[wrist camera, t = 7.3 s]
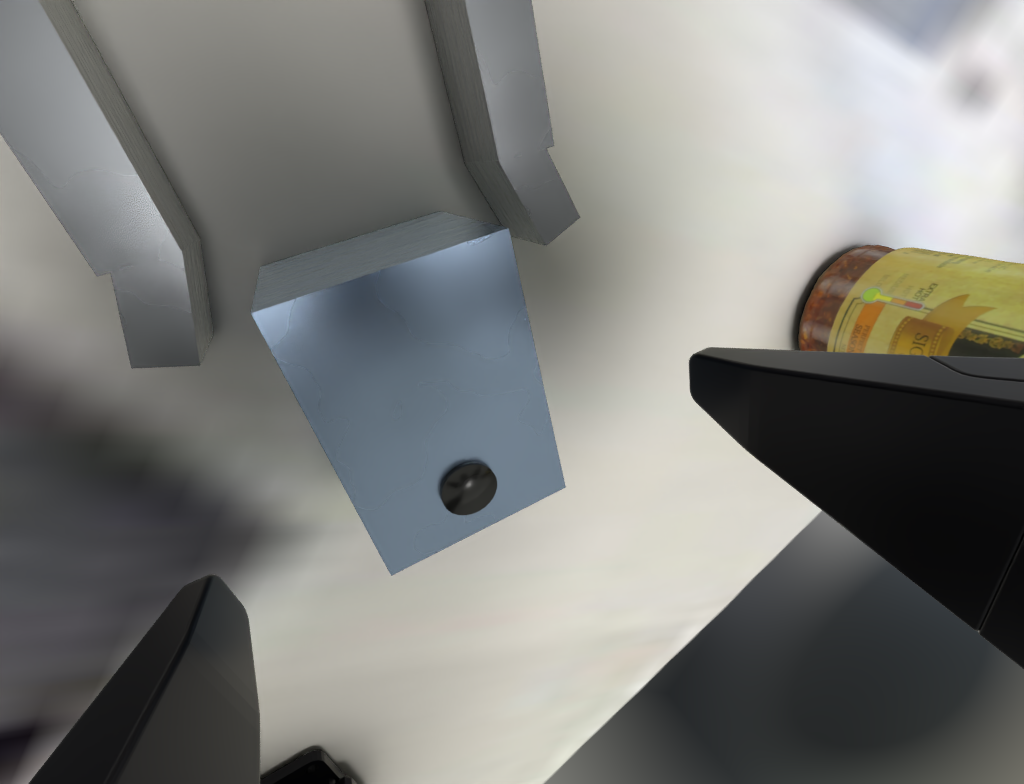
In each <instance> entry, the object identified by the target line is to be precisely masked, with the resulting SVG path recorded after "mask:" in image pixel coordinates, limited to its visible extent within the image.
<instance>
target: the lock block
mask: <svg viewBox="0 0 1024 784" xmlns="http://www.w3.org/2000/svg"><path fill="white" fill-rule="evenodd" d="M251 315H252V317H253V319H254V320H255V322H256V324H257V326H258V328H259V330H260V332H261V334H262V335H263V337H264V339H265V341H266V343H267V345H268V347H269V348H270V350H271V352H272V354H273V356H274V358H275V360H276V361H277V363H278V365H279V367H280V369H281V371H282V373H283V375H284V376H285V378H286V380H287V382H288V384H289V386H290V388H291V389H292V391H293V393H294V395H295V397H296V399H297V401H298V403H299V404H300V406H301V408H302V410H303V412H304V414H305V416H306V417H307V419H308V421H309V423H310V425H311V427H312V429H313V431H314V432H315V434H316V436H317V438H318V440H319V442H320V444H321V445H322V447H323V449H324V451H325V453H326V455H327V457H328V459H329V460H330V462H331V464H332V466H333V468H334V470H335V472H336V473H337V475H338V477H339V479H340V481H341V483H342V485H343V487H344V488H345V490H346V492H347V494H348V496H349V498H350V500H351V501H352V503H353V505H354V507H355V509H356V511H357V513H358V515H359V516H360V518H361V520H362V522H363V524H364V526H365V528H366V529H367V531H368V533H369V535H370V537H371V539H372V541H373V543H374V544H375V546H376V548H377V550H378V552H379V554H380V556H381V557H382V559H383V561H384V563H385V565H386V567H387V569H388V570H389V572H390V574H391V576H392V575H394V574H396V573H398V572H400V571H401V570H403V569H405V568H407V567H409V566H411V565H413V564H415V563H417V562H419V561H421V560H423V559H425V558H427V557H429V556H431V555H433V554H435V553H437V552H439V551H441V550H443V549H445V548H447V547H449V546H451V545H453V544H455V543H457V542H459V541H461V540H463V539H465V538H467V537H469V536H470V535H472V534H474V533H476V532H478V531H480V530H482V529H484V528H486V527H488V526H490V525H492V524H494V523H496V522H498V521H500V520H502V519H504V518H506V517H508V516H510V515H512V514H514V513H516V512H518V511H520V510H522V509H524V508H526V507H528V506H530V505H532V504H534V503H536V502H537V501H539V500H541V499H543V498H545V497H547V496H549V495H551V494H553V493H555V492H557V491H559V490H561V489H563V488H565V482H564V478H563V473H562V468H561V464H560V459H559V455H558V450H557V446H556V441H555V437H554V432H553V427H552V423H551V418H550V414H549V409H548V405H547V400H546V396H545V391H544V386H543V382H542V377H541V373H540V368H539V364H538V359H537V355H536V350H535V345H534V341H533V336H532V332H531V327H530V323H529V318H528V314H527V309H526V304H525V300H524V295H523V291H522V286H521V282H520V277H519V273H518V268H517V263H516V259H515V254H514V250H513V245H512V241H511V236H510V231H509V228H507V227H503V226H499V225H495V224H491V223H487V222H482V221H478V220H474V219H470V218H466V217H462V216H458V215H454V214H450V213H446V212H442V211H439V212H435V213H432V214H429V215H426V216H422V217H419V218H416V219H413V220H409V221H406V222H403V223H400V224H396V225H393V226H390V227H387V228H383V229H380V230H377V231H374V232H370V233H367V234H364V235H361V236H358V237H354V238H351V239H348V240H345V241H341V242H338V243H335V244H332V245H328V246H325V247H322V248H319V249H315V250H312V251H309V252H306V253H302V254H299V255H296V256H293V257H289V258H286V259H283V260H280V261H276V262H273V263H270V264H267V265H263V266H260V271H259V276H258V281H257V286H256V290H255V295H254V300H253V305H252V310H251Z"/></svg>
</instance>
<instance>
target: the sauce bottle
mask: <svg viewBox="0 0 1024 784" xmlns="http://www.w3.org/2000/svg"><path fill="white" fill-rule="evenodd" d="M799 326H800V328H799V335H798V340H799V344H798V345H799V348H800V351H823V352H849V353H876V354H903V355H925V356H927V357H929V356H958V357H994V358H1024V264H1020V263H1012V262H1005V261H999V260H993V259H987V258H981V257H975V256H968V255H960V254H953V253H945V252H938V251H931V250H926V249H919V248H901V249H897V250H894V249H891V248H888V247H885V246H880V245H875V246H874V245H866V246H863V247H858V248H853V249H852V250H850V251H849V252H847V253H845V254H843V255H842V256H841V257H840V258H838V259H837V260H836V261H835V262H834V263H833V264H831V265H830V266H829V267H828V269H826V270H825V271H824V272H823V274H822V275H821V276H820V277H819V278H818V281H817V282H816V284H815V286H814V289H813V290H812V291H811V294H810V297H809V299H808V300H807V302H806V304H805V308H804V312H803V314H802V318H801V321H800V324H799Z"/></svg>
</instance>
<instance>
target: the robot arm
mask: <svg viewBox="0 0 1024 784" xmlns="http://www.w3.org/2000/svg"><path fill="white" fill-rule="evenodd" d="M689 379H690V393H691V396H692V398H693V399H694V401H695V402H696V403H697V404H698V405H699V406H700V407H701V408H702V409H703V410H704V411H705V412H706V413H708V414H709V415H710V416H711V417H712V418H713V419H714V420H715V421H716V422H717V423H718V424H719V425H720V426H721V427H722V428H723V429H724V430H725V431H726V432H727V433H728V434H729V435H731V436H732V437H733V438H734V439H735V440H736V441H737V442H738V443H739V444H740V445H741V446H742V447H743V448H744V449H746V450H747V451H748V452H749V453H750V454H751V455H753V456H754V457H755V458H756V459H757V460H759V461H760V462H761V463H763V464H764V465H765V466H766V467H768V468H769V469H770V470H771V471H773V472H774V473H775V474H777V475H778V476H779V477H780V478H782V479H783V480H784V481H785V482H787V483H788V484H789V485H791V486H792V487H793V488H794V489H796V490H797V491H798V492H799V493H801V494H802V495H803V496H805V497H806V498H807V499H808V500H810V501H811V502H812V503H813V504H815V505H816V506H817V507H819V508H820V509H821V510H822V511H824V512H825V513H826V514H828V515H829V516H830V517H831V518H833V519H834V520H835V521H837V522H838V523H839V524H840V525H841V526H843V527H844V528H845V529H847V530H848V531H849V532H850V533H852V534H853V535H854V536H855V537H857V538H858V539H859V540H861V541H862V542H863V543H865V544H866V545H867V546H868V547H869V548H871V549H872V550H874V551H875V552H876V553H877V554H878V555H880V556H881V557H882V558H884V559H885V560H886V561H887V562H889V563H890V564H891V565H892V566H894V567H895V568H896V569H898V570H899V571H900V572H901V573H903V574H904V575H905V576H906V577H908V578H909V579H910V580H912V581H913V582H914V583H915V584H917V585H918V586H919V587H921V588H922V589H923V590H924V591H926V592H927V593H928V594H929V595H931V596H932V597H933V598H934V599H936V600H937V601H938V602H940V603H941V604H942V605H943V606H945V607H946V608H947V609H948V610H950V611H951V612H952V613H954V614H955V615H956V616H957V617H959V618H960V619H961V620H962V621H964V622H965V623H966V624H968V625H969V626H970V627H971V628H973V629H974V630H976V631H978V632H979V634H980V635H981V636H982V637H983V638H985V639H986V640H987V641H989V642H990V643H991V644H992V645H994V646H995V647H996V648H997V649H999V650H1000V651H1001V652H1003V653H1004V654H1005V655H1006V656H1008V657H1009V658H1010V659H1011V660H1013V661H1014V662H1015V663H1017V664H1018V665H1019V666H1020V667H1022V668H1023V669H1024V358H994V357H958V356H929V357H927V356H925V355H903V354H876V353H849V352H823V351H796V350H769V349H743V348H716V347H709V348H706V349H704V350H701V351H699V352H697V353H695V354H693V355H692V356H691V357H690V360H689ZM29 784H357V783H356V782H355V781H354V780H353V778H351V777H349V776H346V775H344V774H343V773H342V772H341V771H340V769H339V768H338V767H337V766H336V765H335V764H334V763H333V762H332V761H331V759H330V758H329V757H328V756H327V755H326V754H325V753H324V752H323V751H321V750H315V751H311V752H309V753H307V754H305V755H303V756H302V757H300V758H298V759H296V760H295V761H293V762H291V763H289V764H288V765H286V766H284V767H283V768H281V769H279V770H277V771H276V772H274V773H272V774H271V775H269V776H267V777H265V778H264V779H262V780H260V713H259V702H258V693H257V685H256V676H255V668H254V660H253V652H252V643H251V635H250V627H249V620H248V615H247V613H246V610H245V608H244V606H243V605H242V604H241V602H240V601H239V600H238V599H237V597H236V596H235V595H234V594H233V592H232V591H231V590H230V589H229V587H228V586H227V585H226V584H225V583H224V581H223V580H222V579H221V578H220V577H219V576H217V575H214V574H210V575H207V576H205V577H203V578H201V579H198V580H196V581H194V582H192V583H190V584H187V585H186V586H184V587H183V588H182V589H181V590H180V592H179V593H178V594H177V595H176V597H175V598H174V599H173V600H172V602H171V603H170V604H169V606H168V607H167V608H166V609H165V611H164V612H163V613H162V614H161V616H160V617H159V618H158V620H157V621H156V622H155V623H154V625H153V626H152V627H151V628H150V630H149V631H148V632H147V634H146V635H145V636H144V637H143V639H142V640H141V641H140V642H139V644H138V645H137V646H136V648H135V649H134V650H133V651H132V653H131V654H130V655H129V657H128V658H127V659H126V660H125V662H124V663H123V664H122V665H121V667H120V668H119V669H118V670H117V672H116V673H115V674H114V676H113V677H112V678H111V679H110V681H109V682H108V683H107V684H106V686H105V687H104V688H103V690H102V691H101V692H100V693H99V695H98V696H97V697H96V698H95V700H94V701H93V702H92V704H91V705H90V706H89V707H88V709H87V710H86V711H85V712H84V714H83V715H82V716H81V718H80V719H79V720H78V721H77V723H76V724H75V725H74V726H73V728H72V729H71V730H70V732H69V733H68V734H67V735H66V737H65V738H64V739H63V740H62V742H61V743H60V744H59V746H58V747H57V748H56V749H55V751H54V752H53V753H52V754H51V756H50V757H49V758H48V760H47V761H46V762H45V763H44V765H43V766H42V767H41V768H40V770H39V771H38V772H37V774H36V775H35V776H34V777H33V779H32V780H31V781H30V782H29Z"/></svg>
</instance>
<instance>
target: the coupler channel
mask: <svg viewBox="0 0 1024 784" xmlns="http://www.w3.org/2000/svg"><path fill="white" fill-rule="evenodd" d="M425 4H426V8H427V12H428V16H429V20H430V24H431V28H432V32H433V36H434V40H435V44H436V49H437V53H438V57H439V61H440V65H441V69H442V73H443V77H444V81H445V85H446V89H447V93H448V97H449V101H450V105H451V109H452V113H453V117H454V122H455V126H456V130H457V134H458V138H459V142H460V146H461V150H462V154H463V158H464V163H465V165H466V167H467V168H468V170H469V172H470V173H471V175H472V176H473V178H474V180H475V181H476V183H477V185H478V186H479V188H480V190H481V191H482V193H483V195H484V196H485V198H486V200H487V201H488V203H489V204H490V206H491V208H492V209H493V211H494V213H495V214H496V216H497V218H498V219H499V221H500V223H501V224H502V226H503V227H507V228H509V231H510V236H513V237H516V238H520V239H524V240H527V241H531V242H535V243H539V244H542V245H547V244H549V243H550V242H551V241H552V240H553V239H555V238H556V237H557V236H558V235H560V234H561V233H562V232H563V231H564V230H566V229H567V228H568V227H569V226H570V225H572V224H573V223H574V222H575V221H576V220H578V219H579V218H580V216H579V214H578V212H577V210H576V208H575V206H574V204H573V202H572V200H571V198H570V196H569V194H568V192H567V190H566V188H565V186H564V183H563V181H562V179H561V177H560V175H559V173H558V171H557V169H556V167H555V165H554V163H553V161H552V159H551V157H550V155H549V153H548V151H547V149H546V148H549V147H552V146H554V141H553V135H552V128H551V122H550V116H549V109H548V103H547V97H546V90H545V84H544V78H543V71H542V65H541V58H540V52H539V46H538V39H537V33H536V27H535V20H534V14H533V8H532V1H531V0H425ZM0 134H1V135H2V137H3V138H4V140H5V141H6V143H7V144H8V146H9V147H10V148H11V150H12V151H13V153H14V154H15V156H16V157H17V159H18V160H19V162H20V163H21V165H22V166H23V168H24V169H25V171H26V172H27V174H28V175H29V177H30V178H31V179H32V181H33V182H34V184H35V185H36V187H37V188H38V190H39V191H40V193H41V194H42V196H43V197H44V199H45V200H46V202H47V203H48V205H49V206H50V208H51V209H52V210H53V212H54V213H55V215H56V216H57V218H58V219H59V221H60V222H61V224H62V225H63V227H64V228H65V230H66V231H67V233H68V234H69V236H70V237H71V239H72V240H73V241H74V243H75V244H76V246H77V247H78V249H79V250H80V252H81V253H82V255H83V256H84V258H85V259H86V261H87V262H88V264H89V265H90V267H91V268H92V270H93V271H94V272H95V274H96V275H97V276H100V275H104V274H107V273H111V277H112V281H113V286H114V291H115V295H116V300H117V305H118V309H119V314H120V318H121V323H122V328H123V332H124V337H125V341H126V346H127V351H128V355H129V360H130V364H131V368H152V367H177V366H200V365H201V362H202V360H203V358H204V355H205V353H206V350H207V348H208V346H209V343H210V341H211V338H212V336H213V334H214V332H213V325H212V318H211V311H210V304H209V297H208V290H207V283H206V276H205V269H204V262H203V255H202V248H201V241H200V237H199V236H198V234H197V232H196V230H195V228H194V226H193V224H192V223H191V221H190V219H189V217H188V215H187V213H186V212H185V210H184V208H183V206H182V204H181V202H180V201H179V199H178V197H177V195H176V193H175V191H174V189H173V188H172V186H171V184H170V182H169V180H168V178H167V177H166V175H165V173H164V171H163V169H162V167H161V166H160V164H159V162H158V160H157V158H156V156H155V155H154V153H153V151H152V149H151V147H150V145H149V143H148V142H147V140H146V138H145V136H144V134H143V132H142V131H141V129H140V127H139V125H138V123H137V121H136V120H135V118H134V116H133V114H132V112H131V110H130V108H129V107H128V105H127V103H126V101H125V99H124V97H123V96H122V94H121V92H120V90H119V88H118V86H117V85H116V83H115V81H114V79H113V77H112V75H111V73H110V72H109V70H108V68H107V66H106V64H105V62H104V61H103V59H102V57H101V55H100V53H99V51H98V50H97V48H96V46H95V44H94V42H93V40H92V38H91V37H90V35H89V33H88V31H87V29H86V27H85V26H84V24H83V22H82V20H81V18H80V16H79V15H78V13H77V11H76V9H75V7H74V5H73V3H72V2H71V0H0Z"/></svg>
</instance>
